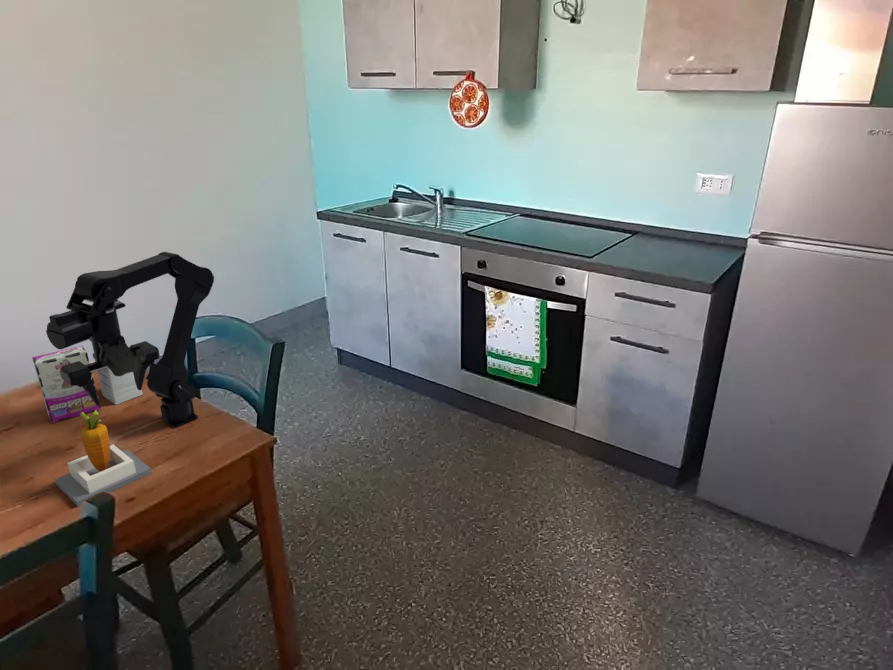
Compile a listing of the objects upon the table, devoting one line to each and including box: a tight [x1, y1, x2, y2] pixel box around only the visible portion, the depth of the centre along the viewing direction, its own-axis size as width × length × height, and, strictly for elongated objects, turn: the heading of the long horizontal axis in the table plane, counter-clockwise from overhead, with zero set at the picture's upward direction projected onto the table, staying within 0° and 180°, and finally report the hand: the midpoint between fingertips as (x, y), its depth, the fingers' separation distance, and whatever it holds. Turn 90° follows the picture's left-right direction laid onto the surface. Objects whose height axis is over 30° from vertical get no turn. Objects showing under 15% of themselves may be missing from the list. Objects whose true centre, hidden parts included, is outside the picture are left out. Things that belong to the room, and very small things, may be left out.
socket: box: [54, 444, 153, 507], centre depth 133 cm, size 15×11×4 cm
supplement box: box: [94, 359, 143, 405], centre depth 164 cm, size 7×7×13 cm
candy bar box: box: [31, 345, 101, 424], centre depth 155 cm, size 11×5×16 cm, turn 129°
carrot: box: [80, 410, 111, 472], centre depth 130 cm, size 5×5×15 cm
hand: (118, 397), depth 140 cm, fingers open, 9 cm apart
